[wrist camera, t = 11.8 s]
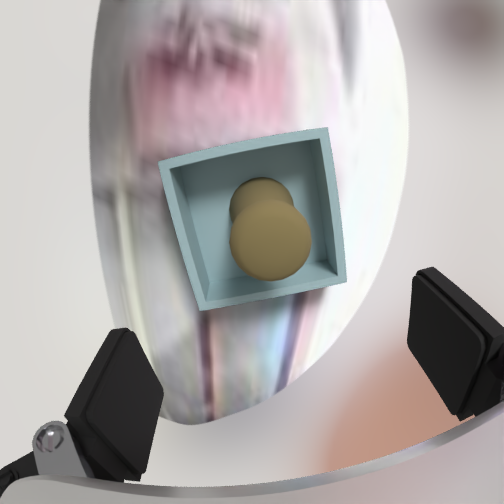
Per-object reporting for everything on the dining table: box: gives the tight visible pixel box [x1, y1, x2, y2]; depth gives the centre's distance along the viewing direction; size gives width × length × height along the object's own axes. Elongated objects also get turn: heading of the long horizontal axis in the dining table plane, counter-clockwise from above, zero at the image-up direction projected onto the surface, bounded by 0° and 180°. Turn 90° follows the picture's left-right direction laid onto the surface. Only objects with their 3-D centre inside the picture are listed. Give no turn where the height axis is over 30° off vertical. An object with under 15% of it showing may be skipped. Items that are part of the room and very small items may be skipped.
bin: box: [158, 127, 347, 311], centre depth 26 cm, size 14×14×4 cm
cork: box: [229, 177, 312, 282], centre depth 23 cm, size 6×6×11 cm
